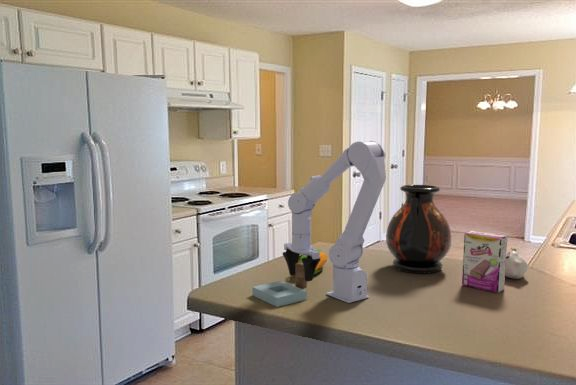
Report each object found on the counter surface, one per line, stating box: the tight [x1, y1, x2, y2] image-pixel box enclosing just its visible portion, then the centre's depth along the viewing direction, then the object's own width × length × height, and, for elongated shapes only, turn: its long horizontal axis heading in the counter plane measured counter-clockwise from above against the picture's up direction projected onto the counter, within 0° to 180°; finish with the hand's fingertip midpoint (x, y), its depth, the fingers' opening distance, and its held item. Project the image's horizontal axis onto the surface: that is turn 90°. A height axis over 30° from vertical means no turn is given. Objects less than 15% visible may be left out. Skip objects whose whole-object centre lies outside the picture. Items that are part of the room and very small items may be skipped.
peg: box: [294, 263, 308, 290], centre depth 151 cm, size 3×3×7 cm
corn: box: [298, 249, 329, 275], centre depth 167 cm, size 7×8×20 cm
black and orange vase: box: [385, 184, 452, 274], centre depth 171 cm, size 22×22×28 cm
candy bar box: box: [461, 230, 508, 294], centre depth 150 cm, size 11×5×16 cm, turn 47°
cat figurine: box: [505, 247, 529, 280], centre depth 162 cm, size 10×8×15 cm
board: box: [251, 280, 307, 308], centre depth 142 cm, size 12×10×2 cm
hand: (300, 277), depth 152 cm, fingers open, 7 cm apart
